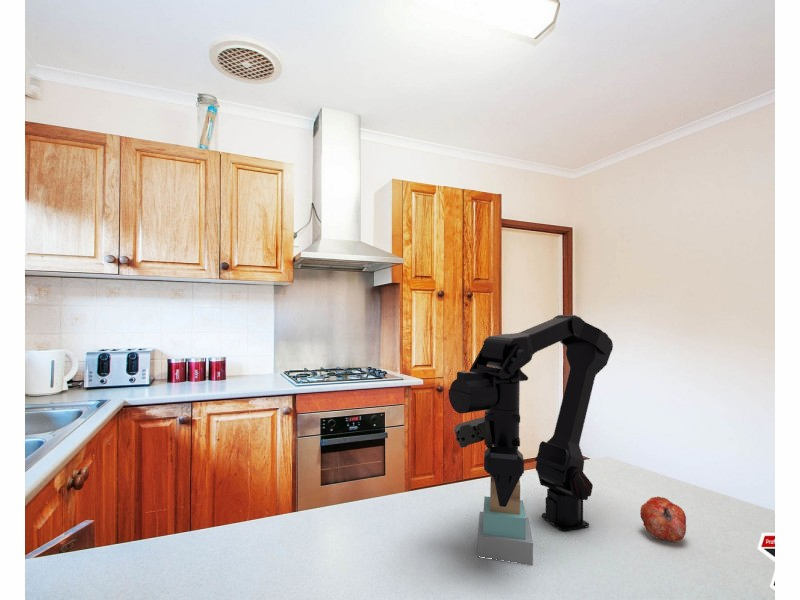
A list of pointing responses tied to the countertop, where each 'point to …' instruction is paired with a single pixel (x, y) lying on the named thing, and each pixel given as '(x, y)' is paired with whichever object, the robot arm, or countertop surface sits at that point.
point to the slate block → (505, 546)
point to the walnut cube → (513, 502)
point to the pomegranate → (663, 519)
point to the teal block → (504, 522)
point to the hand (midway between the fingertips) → (502, 494)
